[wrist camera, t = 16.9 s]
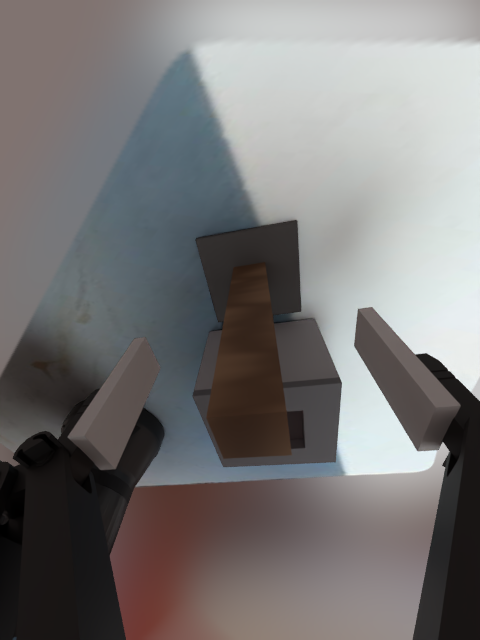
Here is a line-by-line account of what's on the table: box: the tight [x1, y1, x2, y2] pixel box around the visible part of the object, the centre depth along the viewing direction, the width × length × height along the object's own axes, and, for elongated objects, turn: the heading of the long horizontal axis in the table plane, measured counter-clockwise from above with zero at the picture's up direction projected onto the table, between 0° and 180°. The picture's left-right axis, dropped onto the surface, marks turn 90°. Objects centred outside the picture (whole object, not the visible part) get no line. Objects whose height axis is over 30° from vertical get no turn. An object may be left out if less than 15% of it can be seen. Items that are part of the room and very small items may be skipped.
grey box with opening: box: [193, 319, 342, 467], centre depth 26 cm, size 12×12×9 cm
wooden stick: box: [206, 262, 292, 459], centre depth 16 cm, size 3×3×16 cm
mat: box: [196, 220, 301, 322], centre depth 23 cm, size 9×9×1 cm
